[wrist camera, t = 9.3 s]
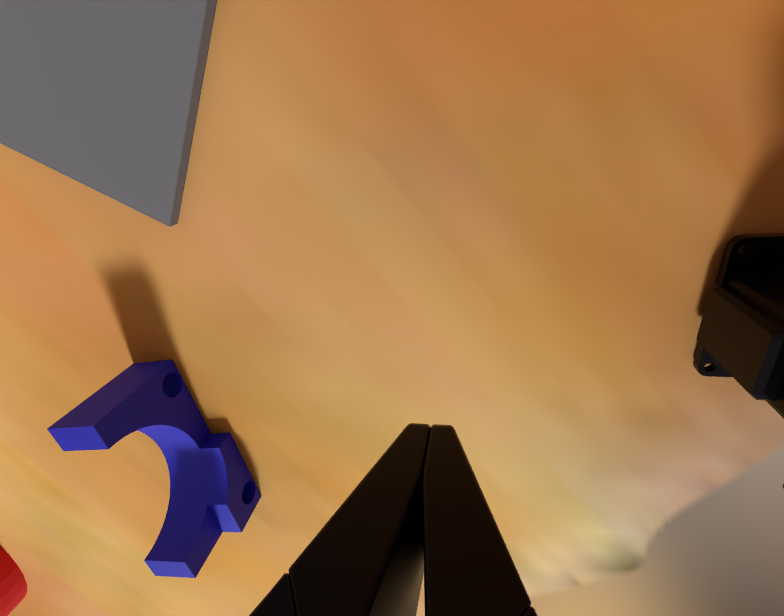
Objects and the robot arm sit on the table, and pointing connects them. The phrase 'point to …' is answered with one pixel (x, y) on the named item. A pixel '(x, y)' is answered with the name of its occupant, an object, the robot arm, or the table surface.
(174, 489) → the cable clip
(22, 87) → the rubber mat
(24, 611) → the table surface
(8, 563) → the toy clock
